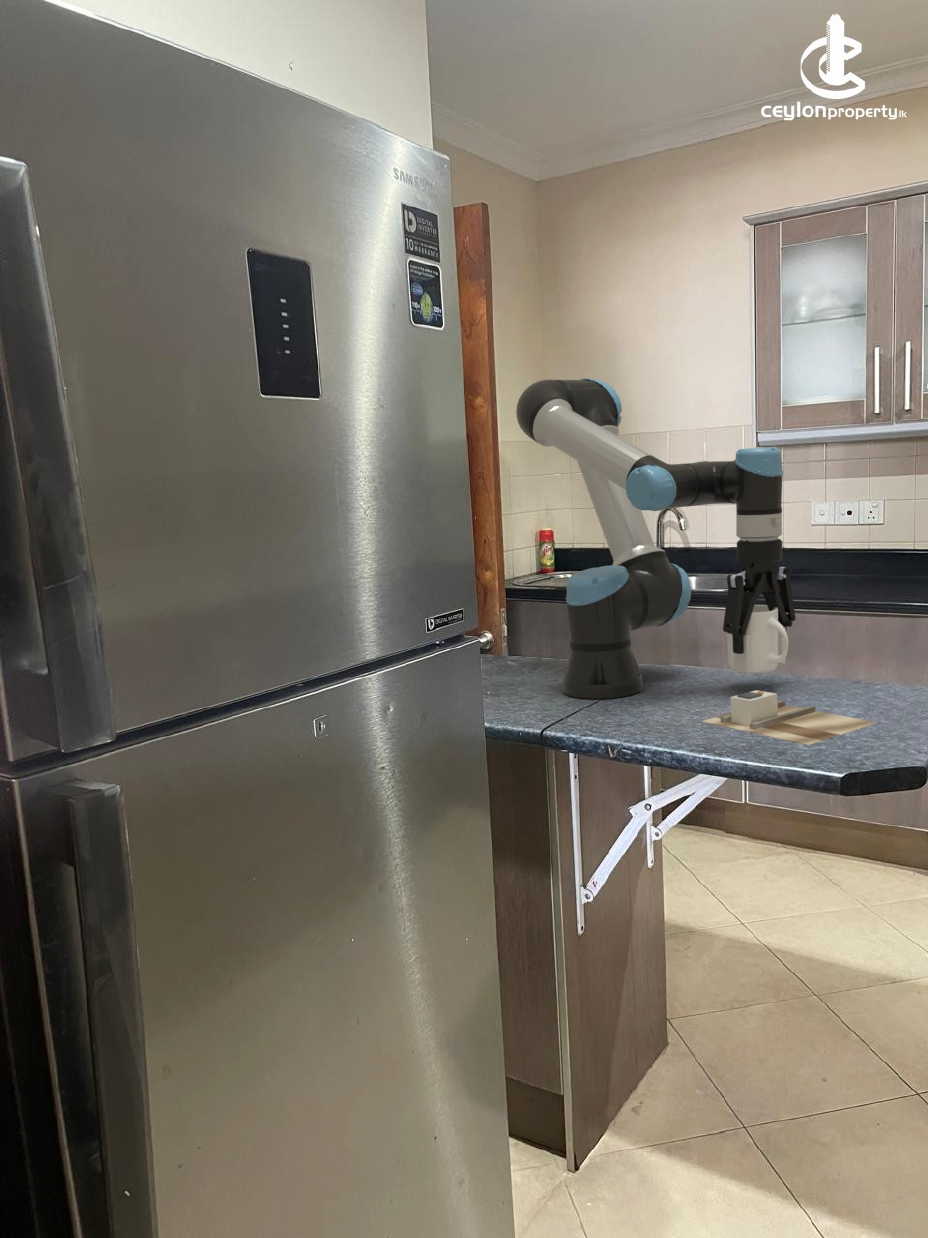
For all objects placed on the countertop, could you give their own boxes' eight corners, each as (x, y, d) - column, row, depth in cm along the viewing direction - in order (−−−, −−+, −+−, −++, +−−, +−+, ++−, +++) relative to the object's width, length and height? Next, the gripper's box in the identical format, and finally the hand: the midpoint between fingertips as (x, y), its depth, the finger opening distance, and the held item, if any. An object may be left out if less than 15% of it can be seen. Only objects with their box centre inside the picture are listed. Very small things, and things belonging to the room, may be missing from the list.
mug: (769, 679, 157) (769, 616, 155) (717, 668, 167) (716, 609, 166) (804, 671, 161) (804, 609, 160) (751, 660, 172) (750, 602, 170)
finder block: (731, 722, 146) (730, 695, 145) (757, 714, 149) (756, 688, 148) (751, 726, 142) (750, 699, 142) (777, 718, 145) (777, 691, 145)
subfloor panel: (701, 728, 148) (701, 716, 148) (769, 709, 156) (769, 697, 156) (808, 753, 131) (808, 739, 131) (878, 730, 139) (877, 717, 139)
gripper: (733, 545, 152) (734, 680, 156) (818, 533, 163) (817, 660, 167) (698, 543, 158) (701, 673, 162) (782, 532, 169) (782, 654, 173)
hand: (760, 666), depth 164 cm, fingers closed on mug, 9 cm apart
